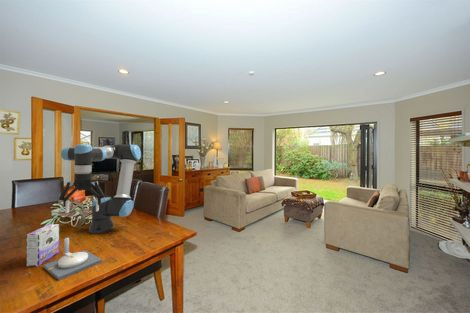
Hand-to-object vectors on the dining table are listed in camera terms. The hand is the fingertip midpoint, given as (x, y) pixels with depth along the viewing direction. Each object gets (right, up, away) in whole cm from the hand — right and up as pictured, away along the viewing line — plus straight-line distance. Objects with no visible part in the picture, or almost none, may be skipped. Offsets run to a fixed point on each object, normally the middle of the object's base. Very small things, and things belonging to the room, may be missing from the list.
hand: (82, 211), depth 112 cm
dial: (0, -23, -7) cm, 24 cm away
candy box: (-19, -25, -3) cm, 31 cm away
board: (+1, -25, -7) cm, 26 cm away
